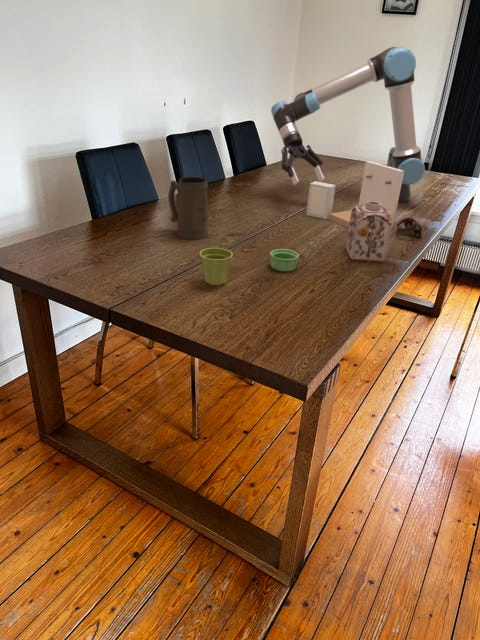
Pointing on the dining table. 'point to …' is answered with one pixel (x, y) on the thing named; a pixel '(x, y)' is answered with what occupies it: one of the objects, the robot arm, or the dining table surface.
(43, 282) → the dining table surface
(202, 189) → the beer stein
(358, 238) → the decorative jar
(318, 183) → the white block
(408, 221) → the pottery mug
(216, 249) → the plant pot
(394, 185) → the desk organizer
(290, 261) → the ramekin
